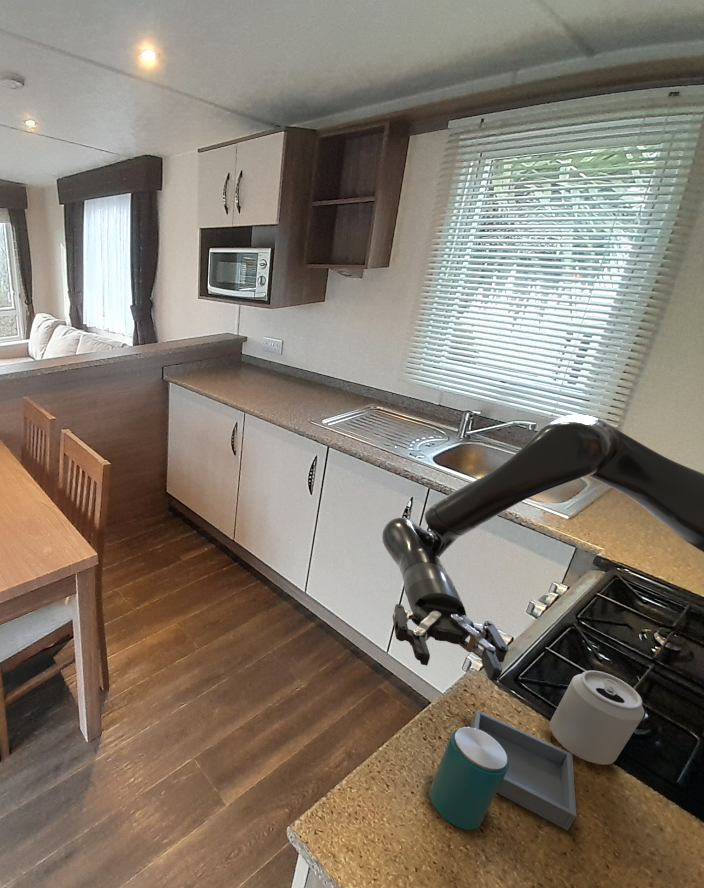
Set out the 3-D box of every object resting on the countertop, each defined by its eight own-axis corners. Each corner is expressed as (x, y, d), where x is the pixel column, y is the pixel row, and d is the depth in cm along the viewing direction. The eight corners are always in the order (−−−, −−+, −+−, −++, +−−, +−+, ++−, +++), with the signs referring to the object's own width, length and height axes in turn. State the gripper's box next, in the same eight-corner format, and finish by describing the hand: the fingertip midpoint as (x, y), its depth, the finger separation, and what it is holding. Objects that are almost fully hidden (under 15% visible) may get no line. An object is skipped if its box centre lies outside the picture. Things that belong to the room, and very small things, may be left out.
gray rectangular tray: (564, 767, 69) (572, 753, 68) (567, 830, 62) (576, 816, 60) (470, 722, 75) (476, 709, 74) (463, 775, 68) (469, 761, 67)
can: (545, 745, 72) (575, 689, 67) (548, 711, 77) (576, 656, 72) (614, 779, 67) (652, 722, 62) (613, 741, 72) (647, 685, 67)
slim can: (483, 801, 65) (511, 743, 60) (479, 841, 61) (509, 782, 56) (432, 772, 69) (455, 716, 64) (425, 808, 64) (449, 750, 60)
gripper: (389, 569, 83) (409, 637, 69) (486, 585, 79) (528, 661, 65) (381, 602, 86) (398, 674, 72) (473, 620, 82) (511, 700, 68)
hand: (460, 668), depth 68 cm, fingers open, 8 cm apart
